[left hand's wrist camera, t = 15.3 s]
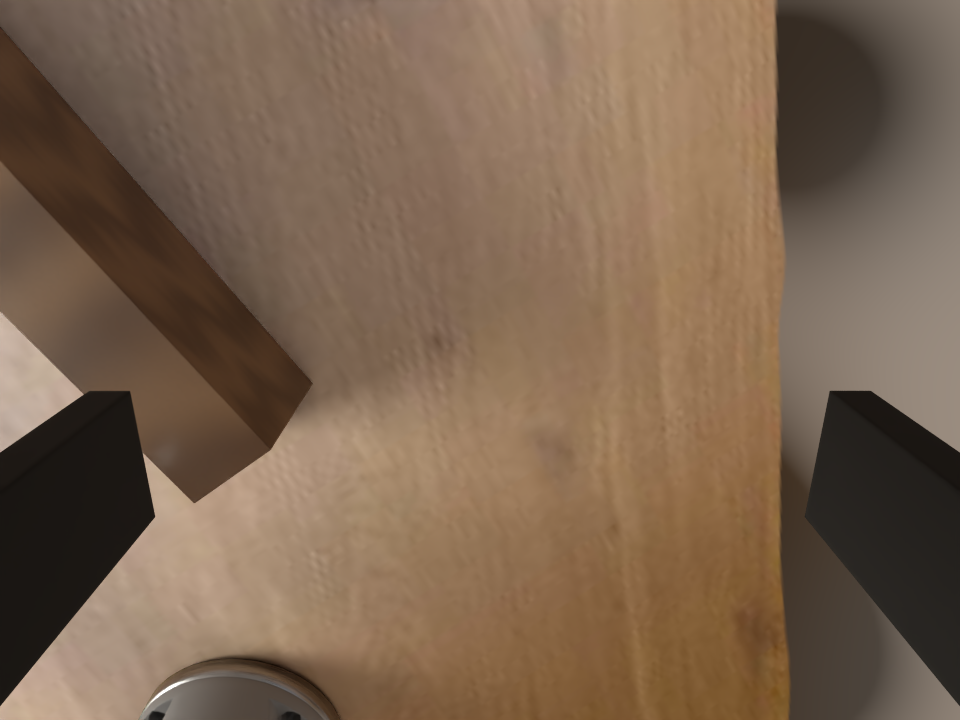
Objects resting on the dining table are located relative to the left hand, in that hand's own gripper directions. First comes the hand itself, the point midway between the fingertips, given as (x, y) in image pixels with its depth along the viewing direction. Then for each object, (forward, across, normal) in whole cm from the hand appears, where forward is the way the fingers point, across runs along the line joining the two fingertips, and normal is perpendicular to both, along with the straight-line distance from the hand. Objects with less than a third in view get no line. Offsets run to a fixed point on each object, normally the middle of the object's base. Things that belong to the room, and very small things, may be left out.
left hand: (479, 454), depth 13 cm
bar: (+26, +20, 0) cm, 33 cm away
